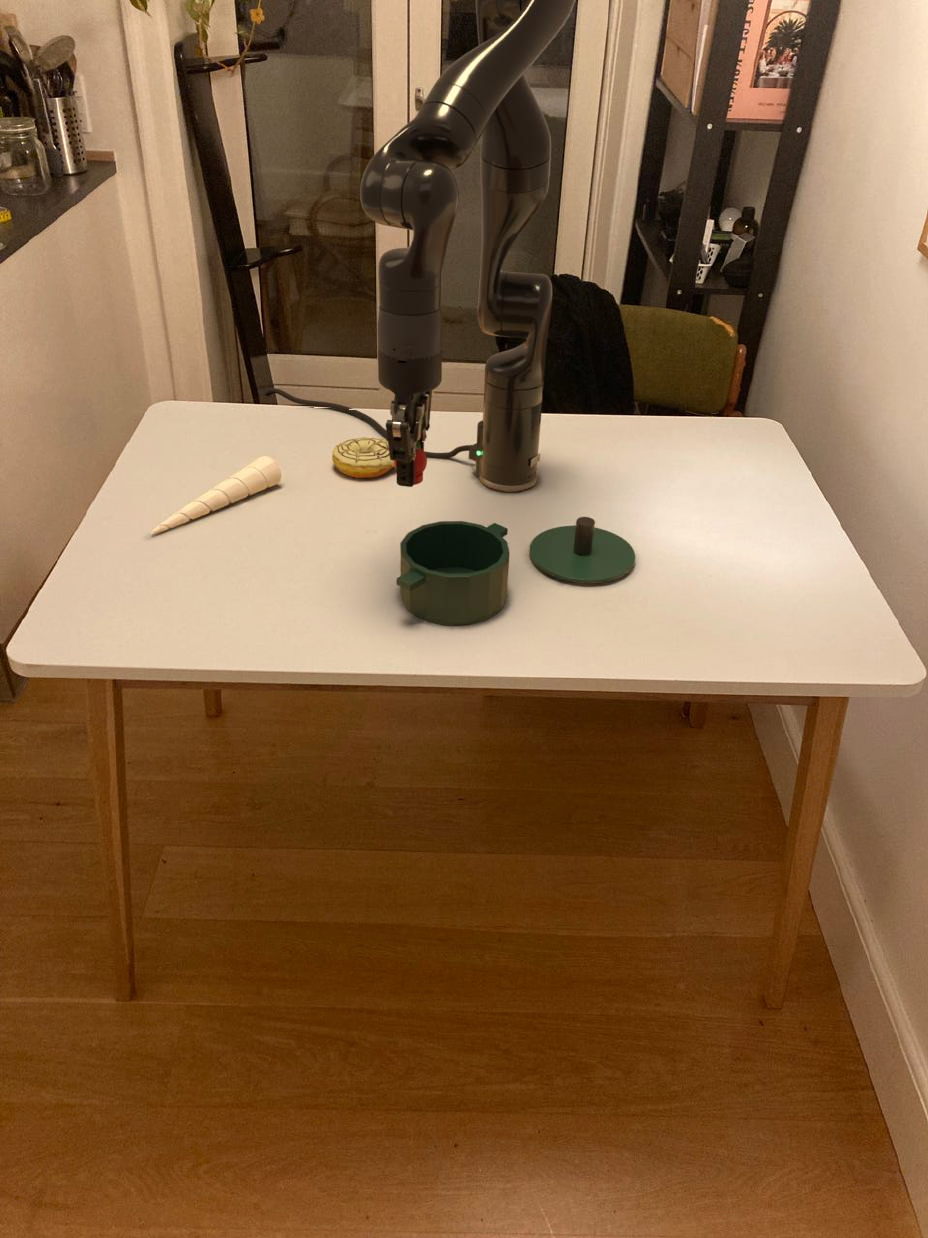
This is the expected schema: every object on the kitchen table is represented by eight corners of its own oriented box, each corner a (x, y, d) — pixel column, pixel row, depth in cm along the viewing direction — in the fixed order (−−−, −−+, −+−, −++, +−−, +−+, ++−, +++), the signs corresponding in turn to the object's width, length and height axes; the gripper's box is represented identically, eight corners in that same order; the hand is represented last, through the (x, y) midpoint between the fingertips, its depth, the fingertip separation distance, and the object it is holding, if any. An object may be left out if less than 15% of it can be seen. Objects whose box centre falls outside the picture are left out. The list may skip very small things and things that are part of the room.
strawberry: (386, 479, 124) (386, 438, 121) (409, 468, 127) (409, 428, 124) (410, 490, 122) (410, 449, 119) (433, 479, 125) (434, 438, 122)
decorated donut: (409, 472, 163) (409, 451, 161) (352, 487, 158) (352, 466, 156) (378, 448, 170) (377, 428, 168) (322, 462, 165) (321, 441, 163)
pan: (364, 604, 131) (363, 556, 126) (460, 549, 143) (462, 503, 139) (444, 648, 123) (445, 598, 119) (538, 585, 136) (542, 539, 131)
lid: (507, 559, 141) (510, 521, 138) (569, 521, 151) (573, 485, 147) (595, 599, 133) (600, 561, 130) (654, 556, 143) (660, 520, 139)
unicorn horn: (136, 527, 145) (130, 498, 143) (265, 477, 160) (263, 450, 157) (154, 539, 143) (149, 510, 140) (284, 487, 157) (281, 460, 155)
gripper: (394, 321, 121) (396, 449, 131) (361, 362, 109) (366, 499, 119) (454, 327, 120) (451, 456, 130) (427, 369, 108) (426, 506, 118)
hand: (410, 476), depth 124 cm, fingers closed on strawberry, 4 cm apart
